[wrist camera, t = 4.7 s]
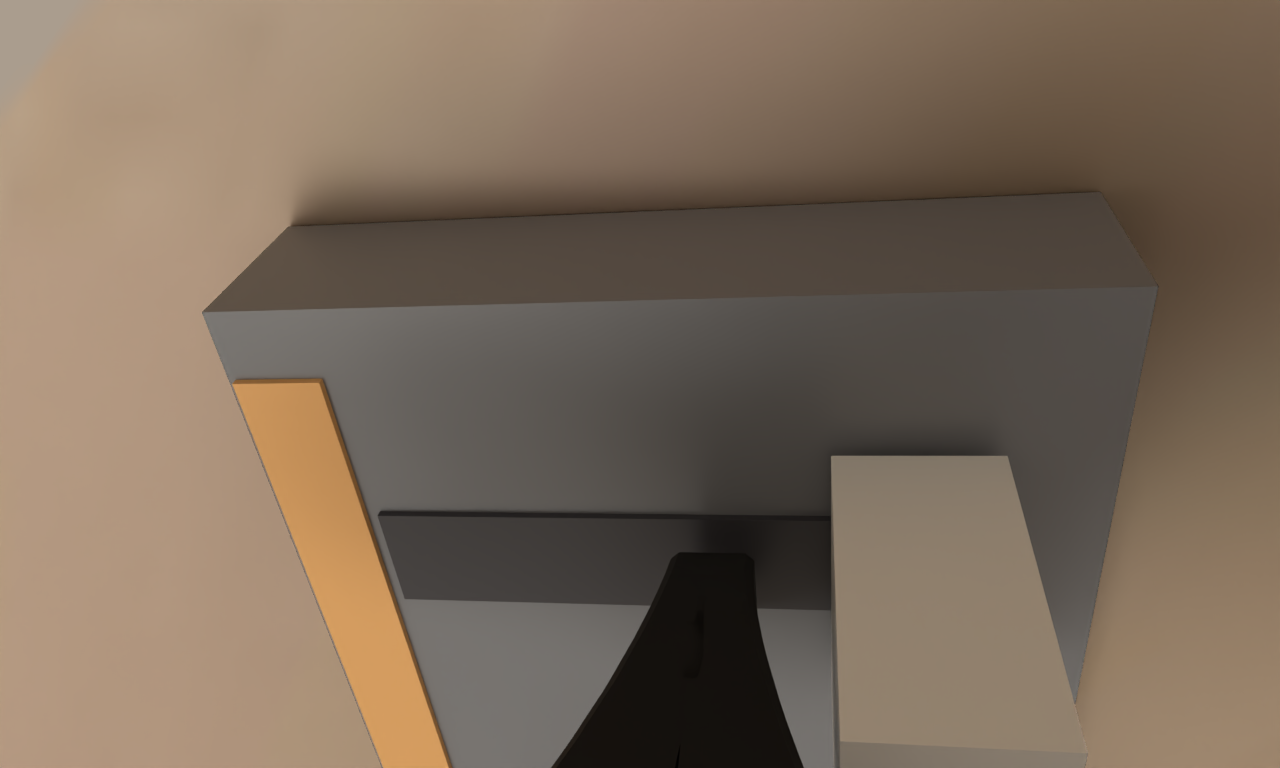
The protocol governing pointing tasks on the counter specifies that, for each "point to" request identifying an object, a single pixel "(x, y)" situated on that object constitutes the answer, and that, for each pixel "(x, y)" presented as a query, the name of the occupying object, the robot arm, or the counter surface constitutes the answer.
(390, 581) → the board
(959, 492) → the block
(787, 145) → the counter surface
